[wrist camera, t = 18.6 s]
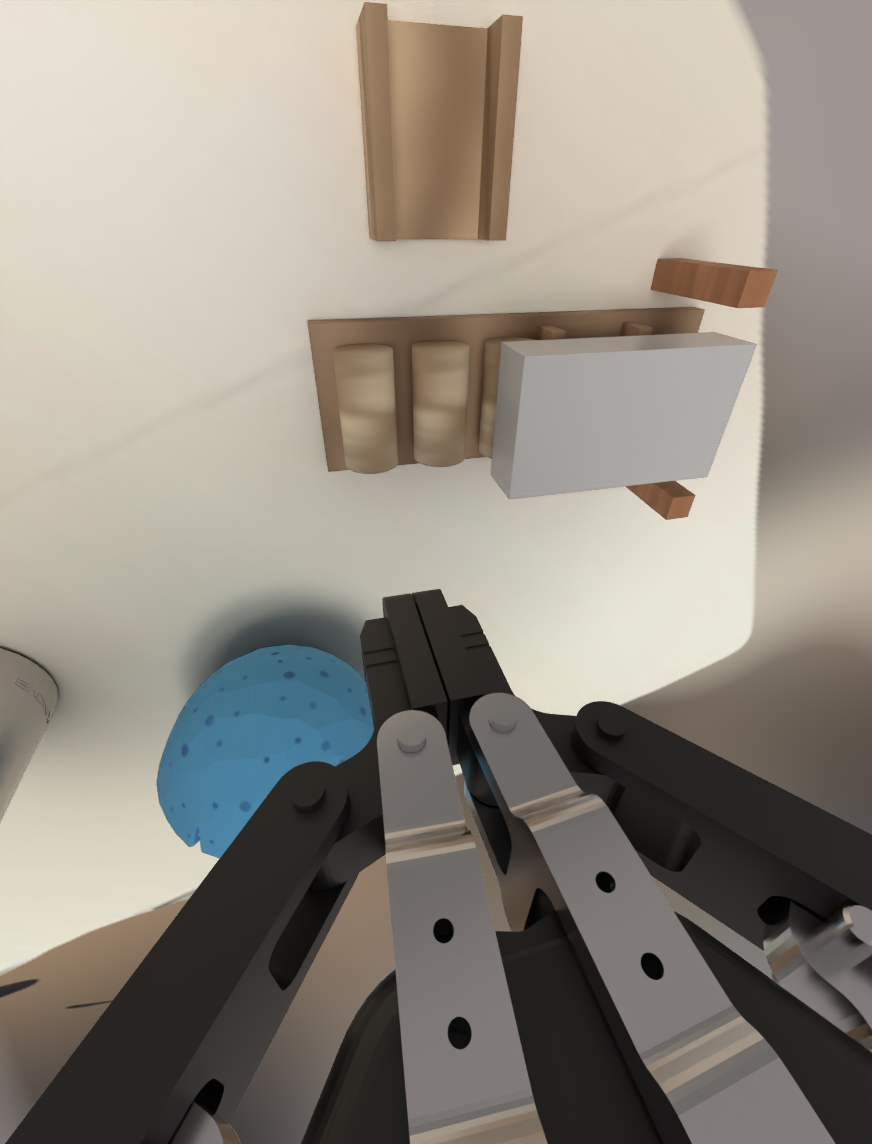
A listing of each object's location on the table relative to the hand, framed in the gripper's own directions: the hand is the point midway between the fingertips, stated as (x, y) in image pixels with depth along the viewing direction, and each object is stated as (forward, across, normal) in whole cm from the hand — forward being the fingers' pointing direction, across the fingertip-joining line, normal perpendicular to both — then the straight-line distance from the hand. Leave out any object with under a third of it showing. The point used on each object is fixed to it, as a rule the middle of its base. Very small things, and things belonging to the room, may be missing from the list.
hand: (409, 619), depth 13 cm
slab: (+14, -14, 0) cm, 20 cm away
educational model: (+20, +7, +23) cm, 31 cm away
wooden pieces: (+19, -10, -4) cm, 22 cm away
